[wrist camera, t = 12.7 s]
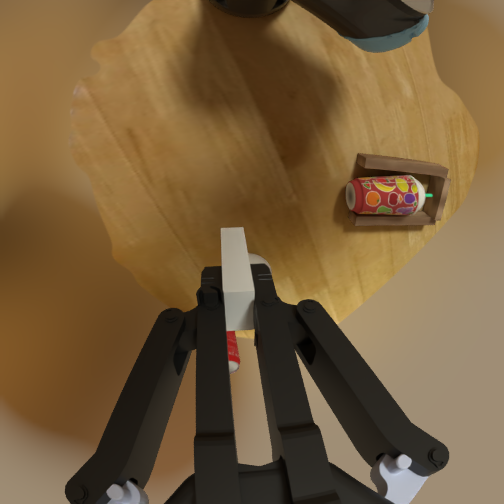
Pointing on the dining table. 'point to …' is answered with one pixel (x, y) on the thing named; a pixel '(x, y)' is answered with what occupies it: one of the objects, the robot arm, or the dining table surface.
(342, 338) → the robot arm
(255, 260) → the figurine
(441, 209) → the u rest
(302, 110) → the dining table surface
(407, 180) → the smoothie
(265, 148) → the dining table surface
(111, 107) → the dining table surface
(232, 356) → the beverage can
